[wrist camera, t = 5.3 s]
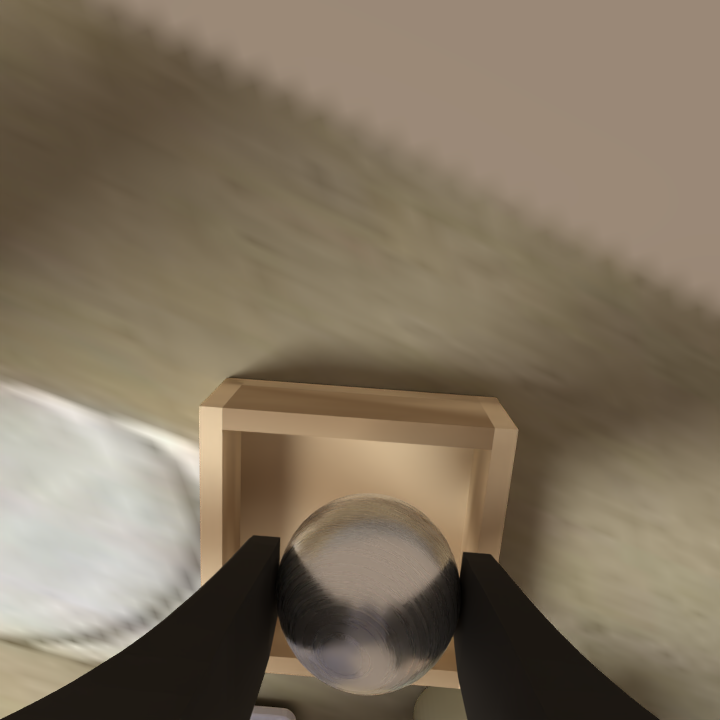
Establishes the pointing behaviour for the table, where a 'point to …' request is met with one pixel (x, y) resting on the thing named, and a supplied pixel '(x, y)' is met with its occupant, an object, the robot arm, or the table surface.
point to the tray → (349, 470)
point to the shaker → (440, 704)
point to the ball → (368, 594)
